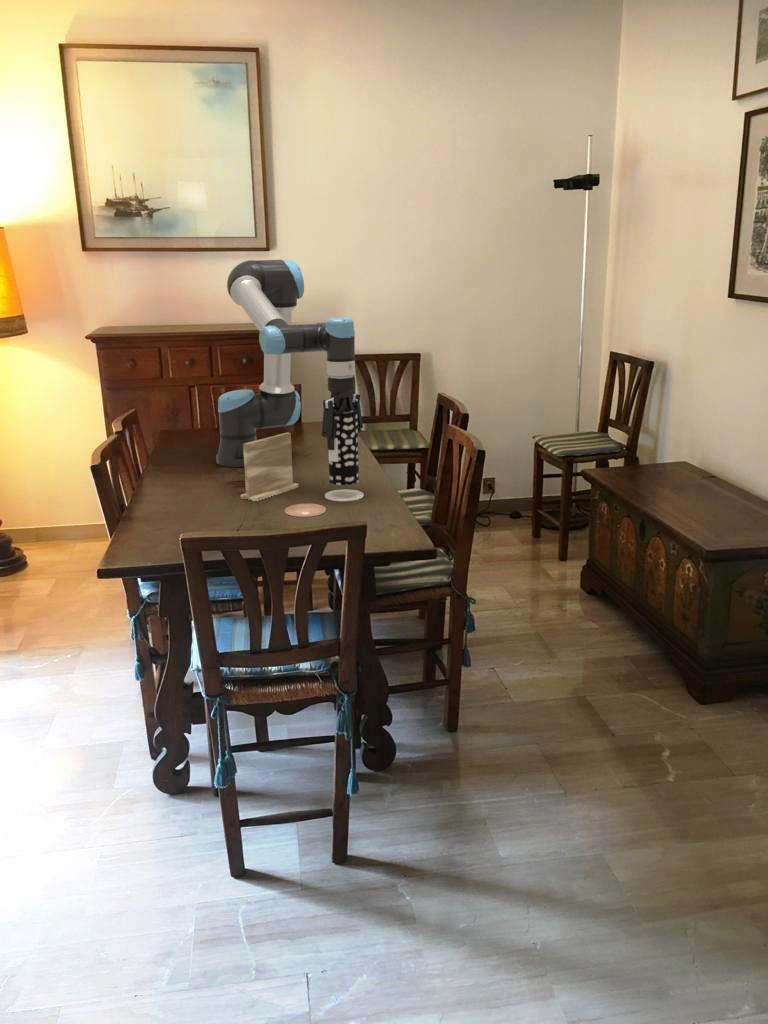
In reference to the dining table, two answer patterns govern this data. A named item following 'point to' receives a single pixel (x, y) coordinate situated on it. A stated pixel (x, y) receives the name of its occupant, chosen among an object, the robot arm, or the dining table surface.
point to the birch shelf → (268, 467)
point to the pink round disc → (305, 510)
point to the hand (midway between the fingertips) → (343, 457)
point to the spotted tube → (346, 450)
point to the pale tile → (344, 495)
